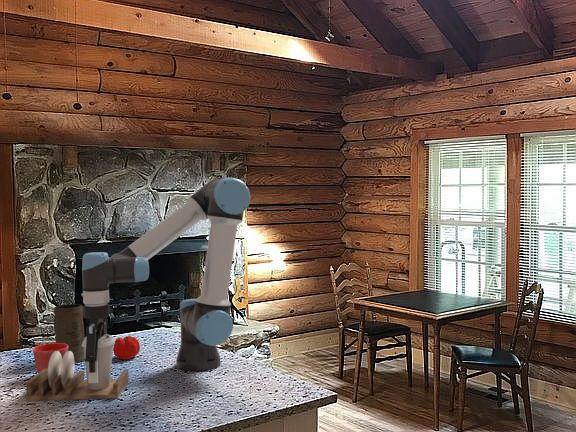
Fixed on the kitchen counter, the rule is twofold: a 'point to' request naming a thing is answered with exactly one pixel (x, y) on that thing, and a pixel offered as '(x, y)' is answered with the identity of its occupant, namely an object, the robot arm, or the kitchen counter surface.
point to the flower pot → (47, 353)
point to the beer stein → (70, 328)
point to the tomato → (126, 347)
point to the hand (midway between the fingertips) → (98, 377)
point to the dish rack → (69, 382)
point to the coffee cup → (102, 362)
